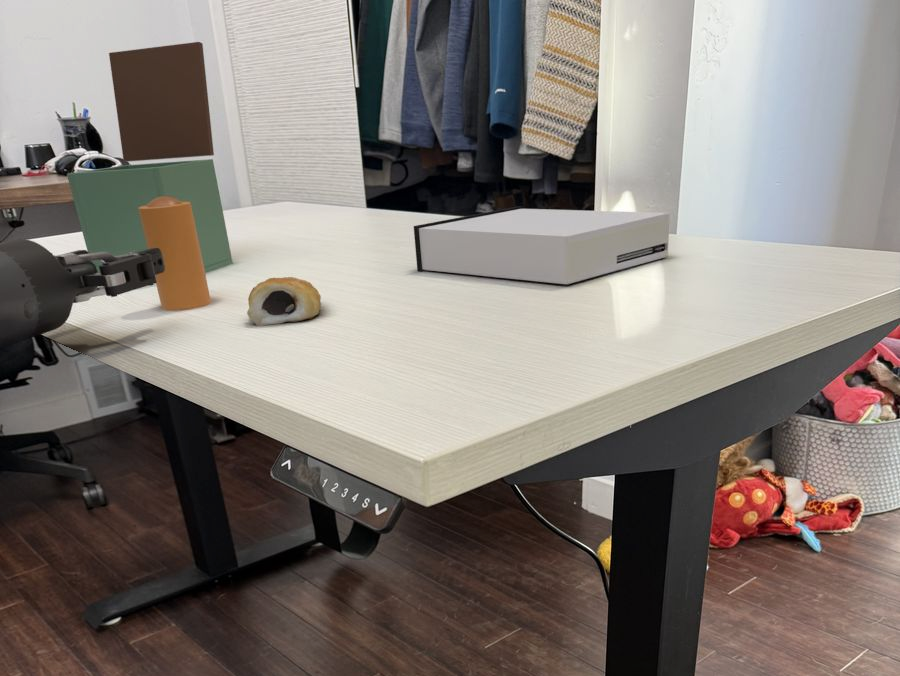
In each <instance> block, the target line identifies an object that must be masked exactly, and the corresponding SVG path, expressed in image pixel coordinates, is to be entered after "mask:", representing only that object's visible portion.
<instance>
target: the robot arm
mask: <svg viewBox="0 0 900 676" xmlns="http://www.w3.org/2000/svg"><path fill="white" fill-rule="evenodd" d="M96 260H101V261H102V262H103V263H102V265H99V269H100V273H98V272H97V268H96V266H95V264H94V263H93V262H91V261H96ZM164 270H165V264H164V260H163V256H162V253H161V250H160V249H159V248H150V249H146V250H142V251H139V252H135V253H134V252H128V254H123V255H117V256H113V255H112V254H111V253H108V252H105V251H102V252H96V253H88V251H87V249H78V250H73V251H70V252H67V253H61V254H58V255H55V254H53V252H51V251H50V250H48V249H47V248H46V247H44V246H43V245H41V244H40V243H39V242H36V241H34V240H30V239H26V238H16V239H11V240H5V241H2V242H0V349H3V348H6V347H10V346H12V345H15V344H18V343H20V342H23V341H26V340H29V339H32V338H35V337H37V336H41V335H43V334H46V333H49V332H52V331H54V330H57V329H59V328H61V327H62V326H63V325H64V324H65V323H66V322H67V321H68V319H69V317H70V315H71V313H72V308H73V304H77V303H83V302H88V301H90V299H91V298H95V297H100V296H106V297H111V298H117V297H118V295H122V294H125V293H129V292H132V291H135V290H138V289H142V288H145V287H148V286H154V284H156V283H157V280H156V276H155V275H157V274H160V273H163V272H164Z"/></svg>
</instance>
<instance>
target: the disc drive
mask: <svg viewBox="0 0 900 676" xmlns="http://www.w3.org/2000/svg"><path fill="white" fill-rule="evenodd" d="M670 219H671V213H670V212H653V211H651V212H649V211H619V210H618V211H617V210H616V211H615V210H613V211H612V210H583V209H581V210H578V209H550V208H549V209H545V208H542V209H541V208H523V206H522V205H518V206H513V207H508V208H501V209H497V210H491V211H486V212H480V213H476V214H470V215H465V216H460V217H454V218H449V219H443V220H438V221H433V222H428V223H423V224H418V225H417V224H416V225H413V236H414V237H413V238H414V248H415V259H416V260H415V261H416V271H417V272H418V273H422V272H426V271H431V272H432V271H433V272H442V273H450V274H451V273H453V274H460V275H471V276H482V277H489V278H500V279H510V280H520V281H529V282H540V283H550V284H559V285H571V284H573V283H577V282H581V281H585V280H588V279H592V278H596V277H599V276H602V275H606V274H610V273H614V272H618V271H621V270H625V269H628V268H632V267H636V266H638V265H642V264H646V263H650V262H653V261H657V260H661V259H664V258H668V256H669V240H670Z"/></svg>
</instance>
